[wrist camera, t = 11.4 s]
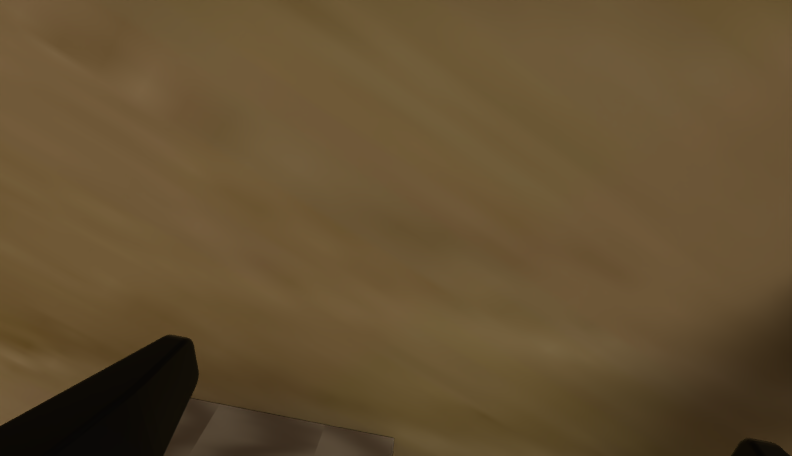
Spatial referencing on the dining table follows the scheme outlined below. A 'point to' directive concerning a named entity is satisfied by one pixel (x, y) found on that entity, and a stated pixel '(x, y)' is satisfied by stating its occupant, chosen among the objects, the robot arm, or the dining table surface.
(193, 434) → the socket block
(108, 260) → the dining table surface
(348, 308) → the dining table surface
